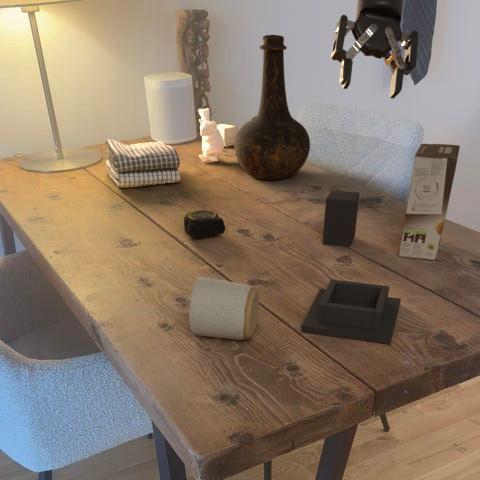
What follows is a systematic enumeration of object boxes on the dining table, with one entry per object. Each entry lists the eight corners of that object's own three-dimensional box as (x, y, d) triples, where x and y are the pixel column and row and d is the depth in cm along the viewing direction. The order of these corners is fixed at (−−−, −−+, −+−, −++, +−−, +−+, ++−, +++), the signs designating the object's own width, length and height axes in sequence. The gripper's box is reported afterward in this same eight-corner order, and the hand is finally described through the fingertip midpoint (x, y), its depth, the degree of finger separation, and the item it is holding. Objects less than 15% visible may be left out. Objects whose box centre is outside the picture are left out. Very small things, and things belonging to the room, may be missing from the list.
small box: (238, 144, 161) (237, 125, 158) (224, 148, 158) (223, 128, 155) (223, 141, 164) (223, 122, 161) (210, 145, 161) (209, 126, 158)
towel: (119, 192, 128) (114, 155, 123) (105, 172, 141) (100, 137, 136) (184, 184, 132) (181, 147, 127) (164, 165, 145) (160, 131, 140)
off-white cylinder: (249, 351, 73) (249, 296, 68) (189, 345, 75) (185, 290, 70) (265, 314, 81) (266, 263, 77) (210, 309, 83) (208, 259, 78)
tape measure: (190, 244, 103) (188, 223, 100) (180, 231, 108) (179, 211, 105) (225, 238, 104) (225, 218, 102) (215, 226, 110) (214, 206, 107)
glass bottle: (286, 162, 145) (290, 29, 128) (322, 179, 133) (332, 35, 115) (223, 171, 140) (218, 34, 122) (254, 190, 127) (254, 40, 110)
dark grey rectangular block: (354, 237, 104) (359, 192, 99) (350, 247, 100) (355, 200, 95) (327, 234, 105) (331, 190, 100) (322, 244, 101) (325, 198, 96)
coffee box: (436, 261, 95) (457, 158, 85) (397, 257, 96) (414, 155, 86) (440, 241, 101) (460, 144, 91) (404, 238, 103) (420, 142, 93)
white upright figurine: (192, 158, 150) (189, 107, 142) (216, 155, 152) (214, 105, 144) (203, 166, 144) (201, 113, 136) (228, 163, 146) (226, 110, 138)
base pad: (399, 304, 83) (403, 282, 80) (390, 345, 74) (394, 321, 72) (319, 294, 86) (321, 272, 84) (301, 332, 77) (302, 308, 75)
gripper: (349, -35, 89) (337, 72, 90) (432, -16, 91) (419, 88, 93) (333, -4, 96) (323, 94, 98) (411, 13, 99) (399, 109, 100)
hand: (370, 91), depth 95 cm, fingers open, 8 cm apart
